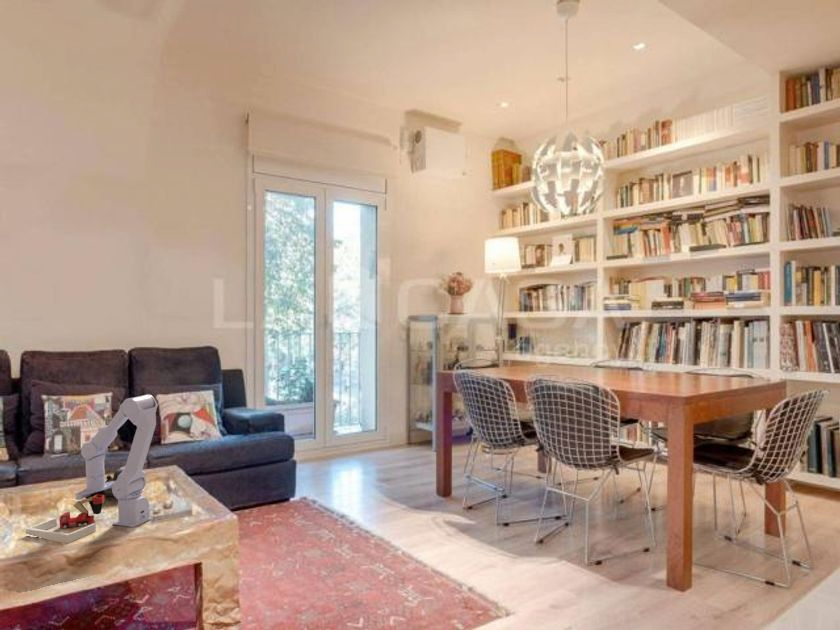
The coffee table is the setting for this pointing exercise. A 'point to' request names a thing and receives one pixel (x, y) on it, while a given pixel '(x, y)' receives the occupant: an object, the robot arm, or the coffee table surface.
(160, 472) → the coffee table surface
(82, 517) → the toy fire truck
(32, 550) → the coffee table surface
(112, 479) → the dark grey lumpy shape
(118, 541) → the coffee table surface
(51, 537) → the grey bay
